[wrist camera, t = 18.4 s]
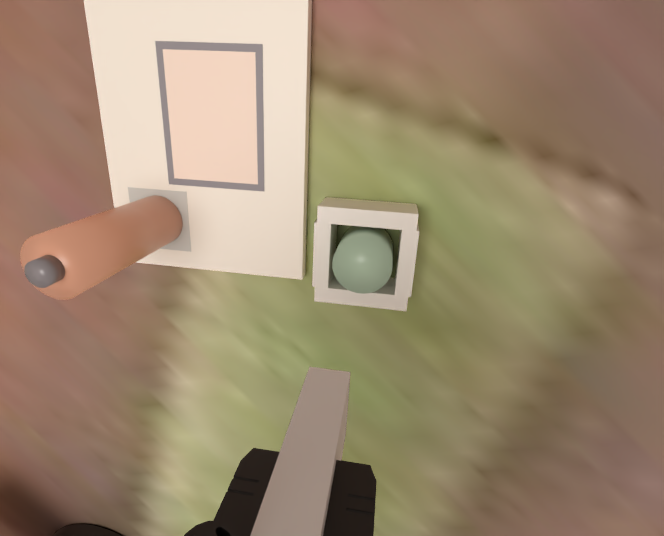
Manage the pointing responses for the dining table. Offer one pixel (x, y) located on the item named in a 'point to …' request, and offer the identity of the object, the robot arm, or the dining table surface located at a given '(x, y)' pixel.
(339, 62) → the dining table surface
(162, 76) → the board
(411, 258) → the button housing
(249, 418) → the dining table surface
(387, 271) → the button
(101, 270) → the marker
